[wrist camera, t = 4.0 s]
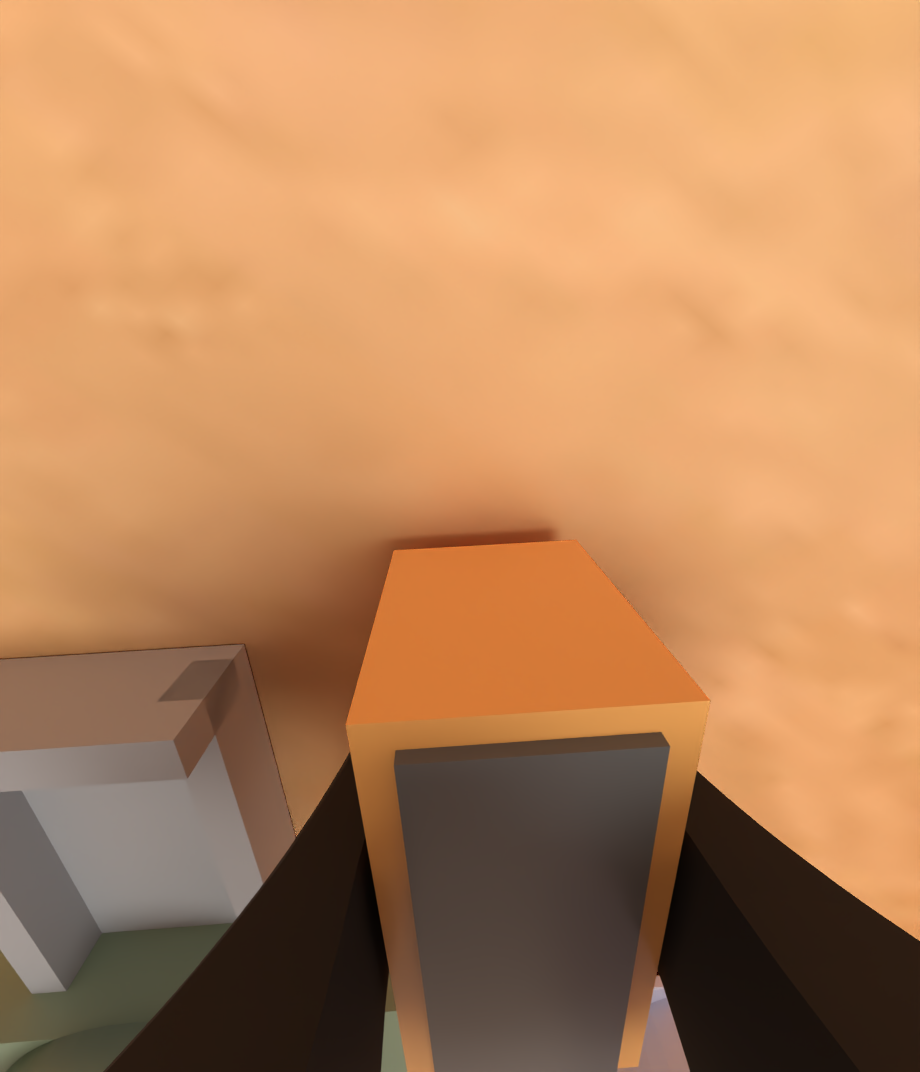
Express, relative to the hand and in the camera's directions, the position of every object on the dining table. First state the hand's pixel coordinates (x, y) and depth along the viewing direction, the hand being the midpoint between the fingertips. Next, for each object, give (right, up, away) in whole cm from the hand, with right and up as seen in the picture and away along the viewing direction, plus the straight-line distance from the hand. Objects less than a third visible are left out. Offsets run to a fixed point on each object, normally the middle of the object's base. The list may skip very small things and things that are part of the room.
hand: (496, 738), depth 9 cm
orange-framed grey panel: (0, +1, +1) cm, 2 cm away
